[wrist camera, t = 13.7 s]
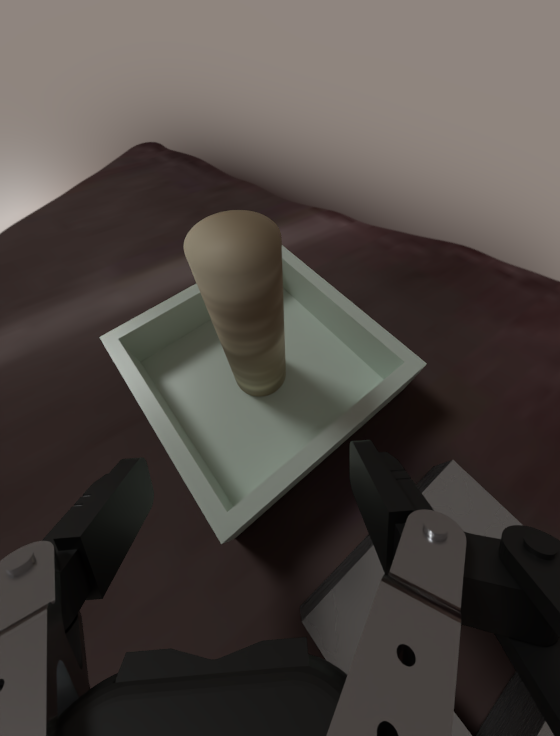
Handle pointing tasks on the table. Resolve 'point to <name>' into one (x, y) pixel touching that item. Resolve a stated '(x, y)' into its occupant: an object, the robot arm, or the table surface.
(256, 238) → the dowel
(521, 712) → the socket block
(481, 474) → the table surface
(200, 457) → the tray
